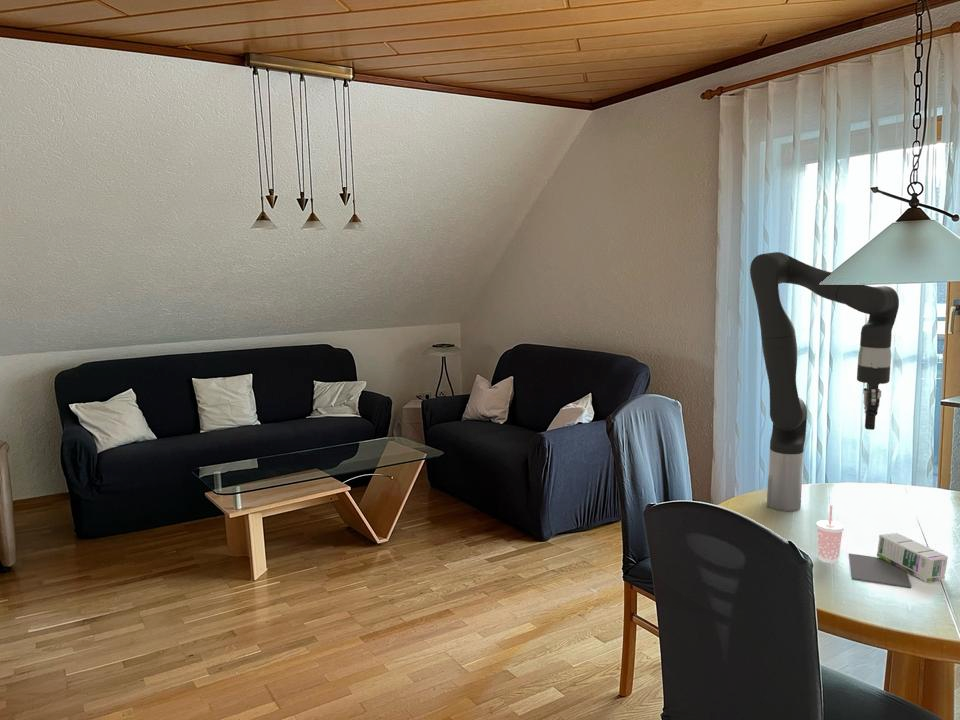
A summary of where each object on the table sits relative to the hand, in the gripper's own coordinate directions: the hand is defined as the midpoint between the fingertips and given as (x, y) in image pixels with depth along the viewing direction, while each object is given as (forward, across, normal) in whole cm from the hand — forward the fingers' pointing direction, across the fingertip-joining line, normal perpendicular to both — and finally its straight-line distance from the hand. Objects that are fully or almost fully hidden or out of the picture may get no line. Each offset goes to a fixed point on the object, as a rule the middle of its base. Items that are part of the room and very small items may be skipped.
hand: (869, 428), depth 193 cm
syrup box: (+26, +14, +4) cm, 30 cm away
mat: (+29, +24, +2) cm, 37 cm away
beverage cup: (+29, +21, -9) cm, 37 cm away
